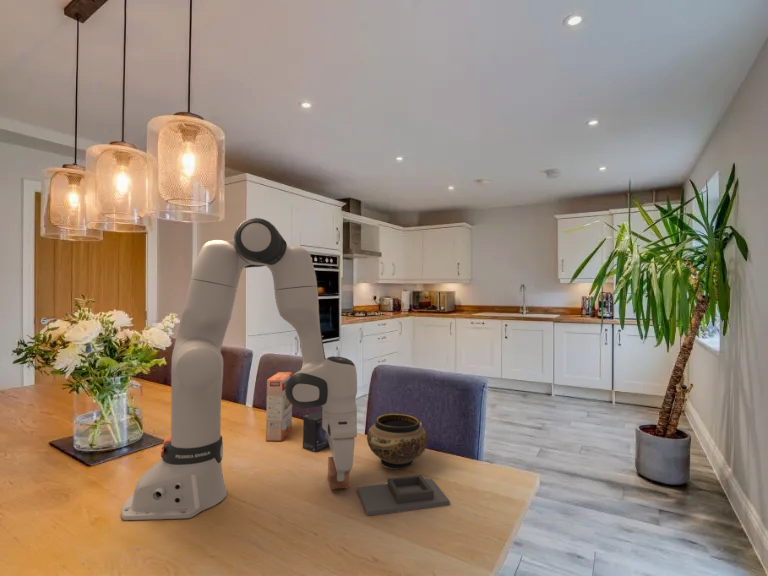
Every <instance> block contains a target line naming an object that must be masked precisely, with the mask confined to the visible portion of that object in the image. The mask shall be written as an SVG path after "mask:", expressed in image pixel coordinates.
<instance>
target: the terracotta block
mask: <svg viewBox="0 0 768 576" xmlns="http://www.w3.org/2000/svg"><path fill="white" fill-rule="evenodd" d="M327 459H328V460H327V481H328V483H327V484H328V487H329V490H333V489H342V488H343V489H344V488H350V487H351V485H350V483H351V470H350V471H345V474H344V481H337V471H336V467H335V463H334V460H333V456H329V457H327Z"/></svg>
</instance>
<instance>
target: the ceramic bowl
mask: <svg viewBox="0 0 768 576" xmlns="http://www.w3.org/2000/svg"><path fill="white" fill-rule="evenodd" d="M374 421H375V423H374V424H372V425H371V426H370V427H369V428H368V431H367V435H366V440H367V441H366V442H367V445H368V448H370V450H371V452H372V453H373V454H374V455H375V456H376V457H378V458H379V459H380V463H381V465H382V466H383V467H385V468H387V469H389V470H402V469H403V470H404V469H408V468H410V467H411V466H412V465H413V464H414V463H413V462H414V461H416V459H418V458H419V457H420V456H421V455H422V454H423V453H424V452H425V450H426V448H427V447H428V440H429V439H428V434H427V431H426V430H425V429H424V427H423V423H422V421H420V419H419V418H418V417H416V416H412V415H410V414H405V413H399V412H398V413H397V412H389V413H383V414H379V415H378V416H376V418H375V420H374Z"/></svg>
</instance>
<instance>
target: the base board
mask: <svg viewBox="0 0 768 576" xmlns="http://www.w3.org/2000/svg"><path fill="white" fill-rule="evenodd" d="M357 493H358V496H359V499H360V501H361V503H362V504H361V505H362V506H363V509H364V512H365V514H366V517H372V516H377V515H385V514H393V513H400V512H408V511H414V510H422V509H429V508H437V507H445V506H450V503H451V501H450V499H449V498H448V497H447V496H446V494H445V493H444V492H443V490H441V488H440V487H439V486H438V484H437V483H436V482H435V481H434V480H433V478H424V476H422V474H414V475H405V476H397V477H390V478H389V477H388V478H387V483H381V484H373V485H365V486H364V485H363V486H357Z"/></svg>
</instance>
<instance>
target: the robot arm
mask: <svg viewBox="0 0 768 576" xmlns="http://www.w3.org/2000/svg"><path fill="white" fill-rule="evenodd" d="M197 255H198V256H197V258H196V260H195V263H194V266H193V269H192V272H191V276H190V280H189V285H188V289H187V293H186V297H185V301H184V305H183V310H182V314H181V318H180V322H179V325H178V329H177V335H176V338H175V342H174V346H173V350H172V354H171V370H170V371H171V372H170V373H171V377H170V378H171V381H170V382H171V388H170V389H171V390H170V391H171V393H170V395H171V396H170V399H171V401H170V404H171V407H170V408H171V409H170V410H171V412H170V420H171V421H170V423H171V424H170V425H171V426H170V438H167V439H166V440H165V441H164V442H163V446H162V448H161V451H160V457H161V459H160V460H159V461H157V462H156V463H155V464H154V465H152V466H151V467H150V468H149V469H147V470H146V471H144V473H143V474H142V475H141V476H140V478H139V479H138V481H137V482H136V485H135V488H134V491H133V494H131V495H130V496H129V497H128V498H127V499H126V500H125V502H124V504H123V505H122V507H121V511H120V512H121V513H120V516H121V519H122V520H124V521H138V520H139V521H140V520H142V521H143V520H168V519H169V520H172V519H175V520H176V519H190V518H193V517H195V516H196V515H197V514H199V513H200V512H203V511H205V510H207V509H209V508H212V507H214V506H216V505H217V504H219V503H220V502H222V501H223V500H224V499H225V498H226V497H227V495H228V489H227V486H226V482H225V478H224V473H223V468H222V467H223V465H222V460H223V457H224V452H223V451H224V442H223V436H222V435H221V434H222V433H221V425H222V424H221V421H222V418H221V417H222V416H221V415H222V414H221V413H222V412H221V409H222V407H221V406H222V395H223V383H224V382H223V379H224V356H223V355H222V353H221V352H222V347H223V343H224V340H225V336H226V333H227V330H228V327H229V323H230V320H231V318H232V314H233V309H234V305H235V301H236V295H237V291H238V286H239V282H240V278H241V274H242V272H243V270H244V269H246V268H247V269H249V268H261V267H266V268H268V269H269V271H270V272H271V276H272V279H273V287H274V288H273V290H274V298H275V299H274V300H275V305H276V308H277V311H278V313H279V316H280V317H281V318H282V319H283V320H284V321H286V322H287V323H288V324H290V326H292V327H293V328H294V329H295V332H296V333H297V336H298V339H299V340H298V341H299V346H300V352H301V358H302V365H301V366H302V367H301V368H300V370H298V371H296V372H295V373H293V375H292V376H291V377H290V378H289V380H288V381H287V383H286V387H285V393H286V397H287V399H288V401H289V402H290V403H291V404H292V407H295V408H297V409H300V410H301V409H303V410H304V409H313V408H318V407H321V408H322V410H323V414H322V428H323V429H324V430H326V432H327V435H328V441H329V450H330V452H331V455H332V456H331V457H333V460H334V463H335V467H336V471H337V481H344V474H345V471H350V472H351V471H352V468H353V463H354V454H355V452H354V451H355V438H357V437H358V427H357V425H358V424H357V422H358V421H357V420H358V416H357V415H358V414H357V413H358V408H357V407H358V406H357V403H356V398H357V394H358V377H357V376H358V375H357V368H356V364H355V363H354V362H353V361H352V360H350V359H348V358H347V357H342V356H333V355H332V356H327V357H326V355H325V354H326V353H325V347H324V340H323V335H322V330H321V322H320V310H319V309H320V304H319V289H318V282H317V281H318V280H317V275H316V270H315V267H314V262H313V260H312V257H311V254H310V252H309V250H307V249H306V248H304V247H301V246H297V245H290V246H289V245H288V244H287V241H286V240H285V239H284V237H283V236H282V235H281V233H280V232H279V230H278V229H277V228H276V226H275V225H274V224H272V223H271V222H270V221H269V220H266V219H264V218H261V217H252V218H248V219H246V220H244V221H242V222H241V223H240V224H239V225H237V227H236V229H235V231H234V234H233V239H231V240H224V239H223V240H221V239H213V240H209V241H207V242H205V243H204V244H203V245H202V247H201V249H200V251H199V253H198V254H197Z"/></svg>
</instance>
